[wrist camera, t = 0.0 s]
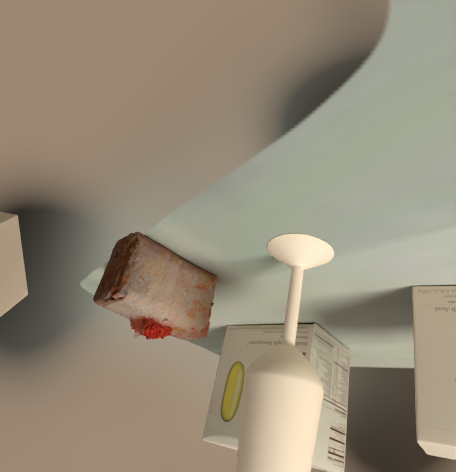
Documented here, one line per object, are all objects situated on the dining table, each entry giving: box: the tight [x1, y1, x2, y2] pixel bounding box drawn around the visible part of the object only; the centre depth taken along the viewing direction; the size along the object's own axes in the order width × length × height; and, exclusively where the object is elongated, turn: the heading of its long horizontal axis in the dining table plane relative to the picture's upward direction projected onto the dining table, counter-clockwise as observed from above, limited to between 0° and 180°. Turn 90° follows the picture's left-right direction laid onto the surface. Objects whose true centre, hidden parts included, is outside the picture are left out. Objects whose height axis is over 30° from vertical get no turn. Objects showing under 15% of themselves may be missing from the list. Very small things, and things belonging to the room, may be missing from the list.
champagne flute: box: [236, 234, 334, 472], centre depth 33 cm, size 7×7×24 cm
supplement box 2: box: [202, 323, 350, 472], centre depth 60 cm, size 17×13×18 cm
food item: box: [93, 232, 217, 341], centre depth 45 cm, size 14×8×10 cm, turn 45°
